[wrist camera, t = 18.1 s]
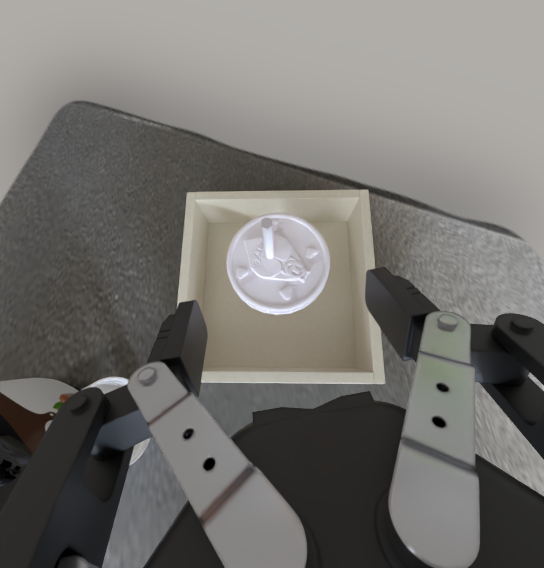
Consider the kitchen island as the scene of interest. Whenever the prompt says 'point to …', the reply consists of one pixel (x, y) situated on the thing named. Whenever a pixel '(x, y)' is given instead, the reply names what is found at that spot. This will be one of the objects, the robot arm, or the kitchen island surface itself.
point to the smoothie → (278, 263)
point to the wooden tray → (294, 326)
